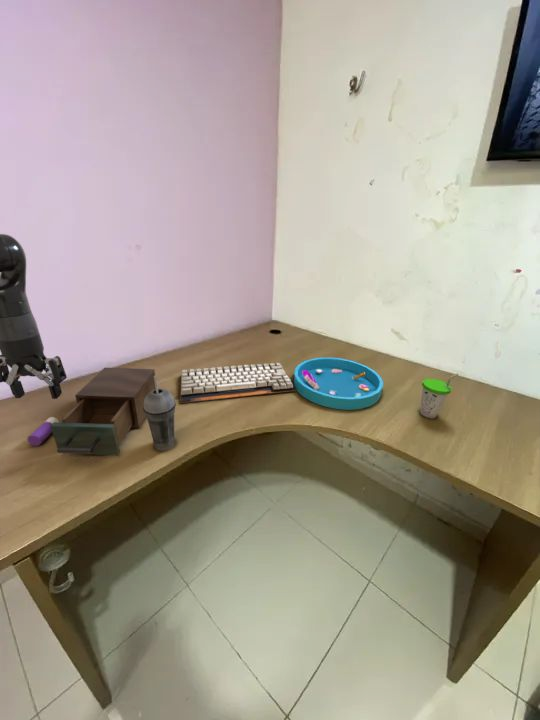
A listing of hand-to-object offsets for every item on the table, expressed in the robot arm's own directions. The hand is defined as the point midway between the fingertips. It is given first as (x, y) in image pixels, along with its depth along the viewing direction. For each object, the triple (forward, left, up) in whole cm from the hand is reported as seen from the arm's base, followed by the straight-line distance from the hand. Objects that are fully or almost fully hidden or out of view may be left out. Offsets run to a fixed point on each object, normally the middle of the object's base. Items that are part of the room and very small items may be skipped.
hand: (38, 396), depth 74 cm
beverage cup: (+30, -2, -12) cm, 32 cm away
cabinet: (+14, +12, -11) cm, 21 cm away
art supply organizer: (+80, +31, -12) cm, 86 cm away
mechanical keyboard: (+45, +30, -12) cm, 55 cm away
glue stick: (0, 0, -11) cm, 11 cm away
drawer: (+14, -2, -10) cm, 17 cm away
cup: (+105, +15, -12) cm, 106 cm away
